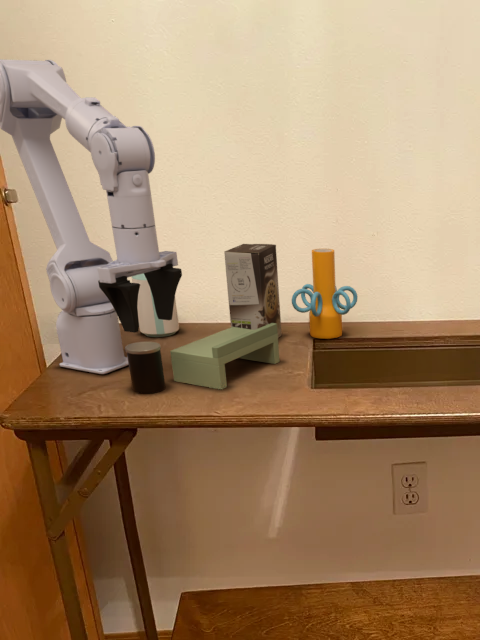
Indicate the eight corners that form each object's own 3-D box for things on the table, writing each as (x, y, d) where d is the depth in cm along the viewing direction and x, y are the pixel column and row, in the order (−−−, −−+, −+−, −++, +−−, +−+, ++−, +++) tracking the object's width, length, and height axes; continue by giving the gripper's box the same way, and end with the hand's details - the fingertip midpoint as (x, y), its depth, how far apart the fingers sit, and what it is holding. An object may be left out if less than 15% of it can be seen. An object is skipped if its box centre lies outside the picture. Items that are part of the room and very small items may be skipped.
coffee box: (266, 348, 139) (258, 252, 131) (231, 346, 140) (222, 250, 133) (283, 335, 147) (277, 243, 139) (250, 333, 148) (242, 241, 140)
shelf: (174, 381, 124) (168, 340, 120) (235, 354, 136) (231, 317, 133) (221, 389, 120) (217, 347, 117) (279, 361, 133) (277, 323, 130)
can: (140, 329, 150) (130, 263, 144) (178, 327, 151) (170, 261, 146) (140, 339, 144) (129, 270, 138) (180, 336, 146) (171, 268, 140)
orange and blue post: (350, 325, 154) (348, 244, 146) (365, 340, 145) (364, 253, 138) (288, 330, 150) (283, 247, 143) (299, 345, 142) (294, 257, 134)
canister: (124, 390, 119) (117, 348, 116) (147, 381, 123) (141, 339, 120) (151, 396, 117) (144, 352, 114) (173, 386, 121) (167, 344, 118)
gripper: (121, 235, 102) (138, 340, 109) (189, 221, 114) (201, 316, 120) (78, 231, 104) (97, 334, 111) (149, 218, 116) (163, 312, 123)
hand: (148, 325), depth 116 cm, fingers open, 7 cm apart
